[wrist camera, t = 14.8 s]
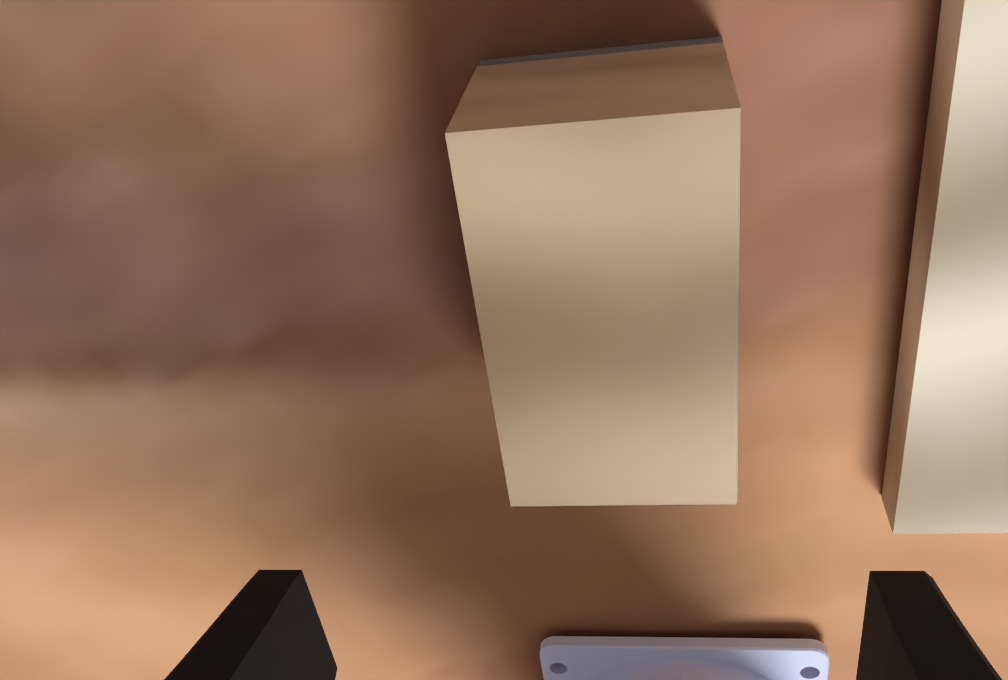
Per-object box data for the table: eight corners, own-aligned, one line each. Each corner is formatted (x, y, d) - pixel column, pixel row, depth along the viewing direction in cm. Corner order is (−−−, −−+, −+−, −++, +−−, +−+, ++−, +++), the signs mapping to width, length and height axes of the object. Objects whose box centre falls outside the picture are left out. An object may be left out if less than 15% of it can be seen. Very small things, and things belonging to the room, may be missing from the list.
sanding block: (721, 382, 21) (737, 504, 18) (530, 389, 22) (510, 506, 19) (720, 32, 17) (740, 107, 13) (481, 57, 17) (444, 133, 14)
